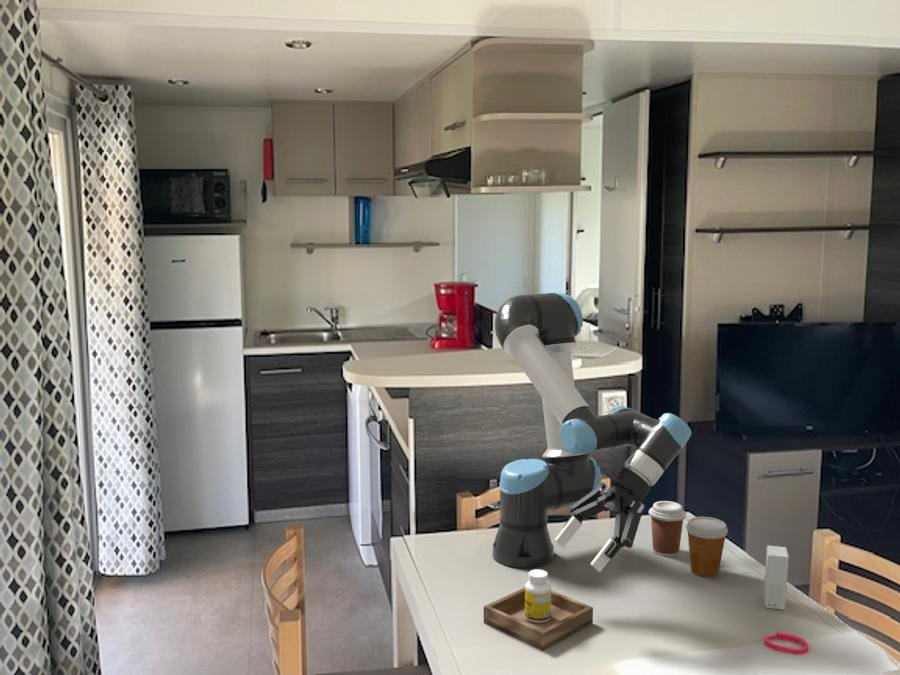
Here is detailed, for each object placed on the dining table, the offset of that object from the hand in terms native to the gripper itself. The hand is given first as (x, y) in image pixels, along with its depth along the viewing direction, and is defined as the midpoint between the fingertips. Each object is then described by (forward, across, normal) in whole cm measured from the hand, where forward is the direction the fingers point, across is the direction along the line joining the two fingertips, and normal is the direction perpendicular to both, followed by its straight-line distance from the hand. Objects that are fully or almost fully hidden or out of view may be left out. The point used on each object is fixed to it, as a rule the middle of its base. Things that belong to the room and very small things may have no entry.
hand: (576, 555), depth 180 cm
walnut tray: (+16, 0, -3) cm, 16 cm away
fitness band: (-12, -29, -31) cm, 44 cm away
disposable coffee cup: (-18, +5, -38) cm, 42 cm away
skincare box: (-20, -14, -40) cm, 47 cm away
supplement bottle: (+15, 0, -2) cm, 15 cm away
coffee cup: (-18, +19, -38) cm, 46 cm away
